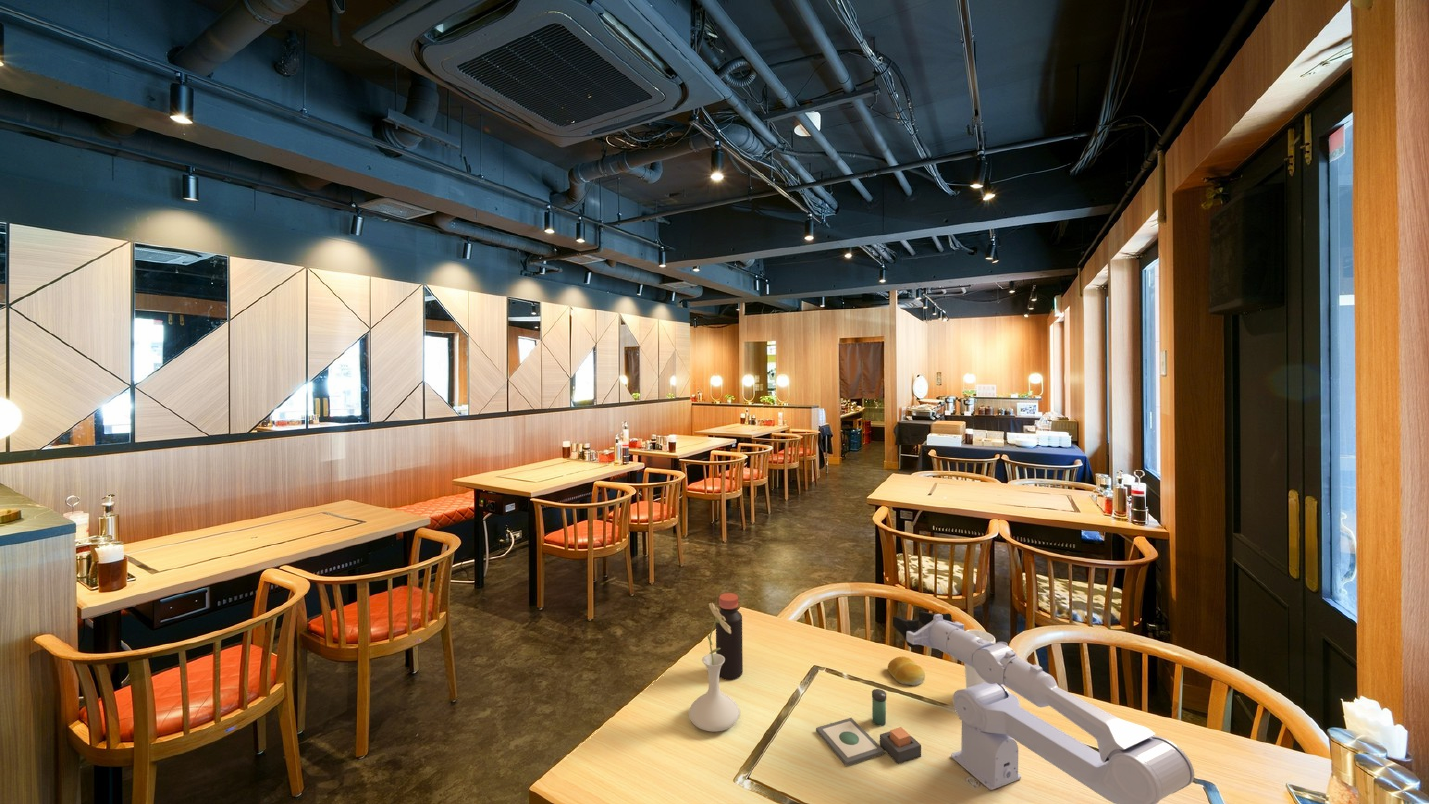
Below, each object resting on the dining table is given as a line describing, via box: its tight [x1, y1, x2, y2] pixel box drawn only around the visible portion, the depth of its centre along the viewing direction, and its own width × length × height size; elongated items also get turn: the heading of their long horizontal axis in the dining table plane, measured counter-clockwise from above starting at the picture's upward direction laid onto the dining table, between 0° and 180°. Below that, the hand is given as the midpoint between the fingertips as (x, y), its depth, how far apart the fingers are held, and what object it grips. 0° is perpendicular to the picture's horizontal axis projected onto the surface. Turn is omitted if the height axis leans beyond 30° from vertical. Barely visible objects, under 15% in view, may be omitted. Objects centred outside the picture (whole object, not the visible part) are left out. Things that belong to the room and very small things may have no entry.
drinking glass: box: [963, 629, 997, 689], centre depth 122 cm, size 7×7×15 cm
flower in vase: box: [688, 602, 741, 732], centre depth 116 cm, size 13×11×25 cm
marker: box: [871, 688, 887, 727], centre depth 115 cm, size 3×3×6 cm
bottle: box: [715, 592, 744, 681], centre depth 134 cm, size 7×7×20 cm
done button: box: [889, 726, 912, 748], centre depth 106 cm, size 3×3×2 cm
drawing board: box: [815, 717, 885, 767], centre depth 108 cm, size 11×9×1 cm
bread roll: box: [887, 656, 926, 687], centre depth 132 cm, size 8×9×4 cm
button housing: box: [879, 730, 922, 765], centre depth 106 cm, size 6×6×2 cm
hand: (907, 618), depth 119 cm, fingers open, 7 cm apart
